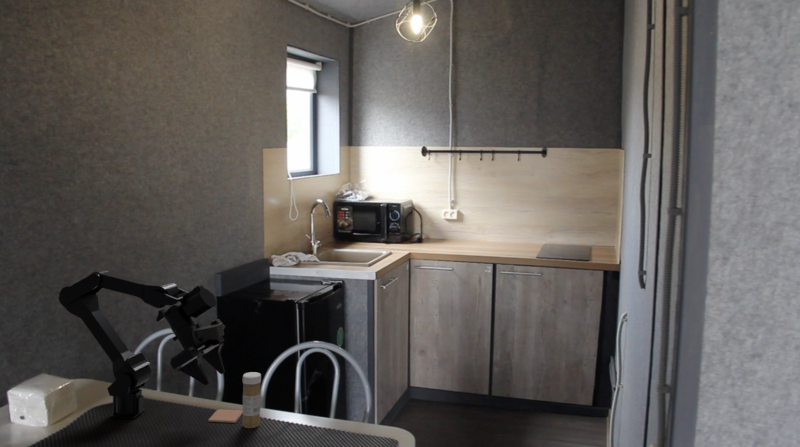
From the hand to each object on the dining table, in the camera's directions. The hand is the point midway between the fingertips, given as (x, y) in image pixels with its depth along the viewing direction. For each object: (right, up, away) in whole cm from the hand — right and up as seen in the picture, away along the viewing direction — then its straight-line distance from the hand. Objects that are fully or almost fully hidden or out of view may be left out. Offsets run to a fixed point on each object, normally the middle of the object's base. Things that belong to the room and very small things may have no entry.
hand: (215, 378), depth 152 cm
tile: (+1, -12, +5) cm, 13 cm away
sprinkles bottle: (+9, -12, 0) cm, 15 cm away
